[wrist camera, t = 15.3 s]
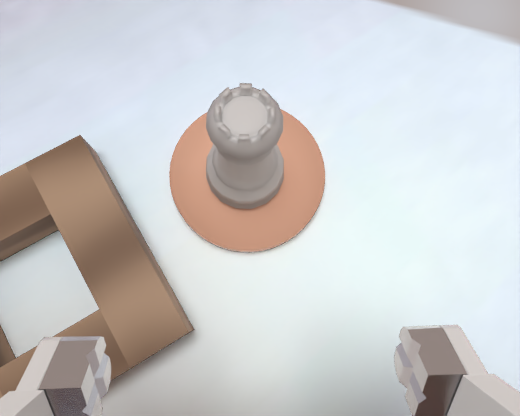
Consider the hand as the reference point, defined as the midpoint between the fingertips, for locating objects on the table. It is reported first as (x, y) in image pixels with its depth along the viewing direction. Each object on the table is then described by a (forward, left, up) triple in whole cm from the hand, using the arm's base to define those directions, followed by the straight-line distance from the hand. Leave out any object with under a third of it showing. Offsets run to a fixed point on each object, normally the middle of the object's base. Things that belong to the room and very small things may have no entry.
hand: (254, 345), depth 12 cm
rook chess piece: (-8, +4, -11) cm, 14 cm away
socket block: (-7, -9, -12) cm, 17 cm away
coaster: (-8, +4, -12) cm, 15 cm away
